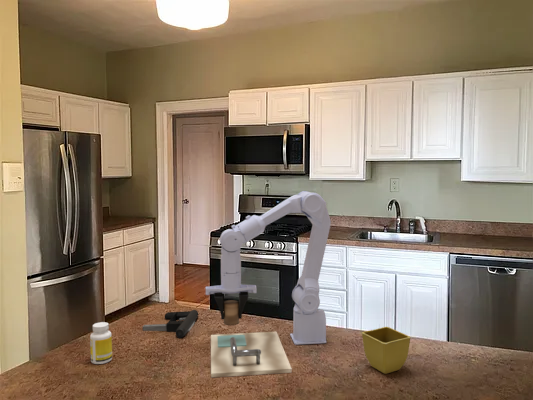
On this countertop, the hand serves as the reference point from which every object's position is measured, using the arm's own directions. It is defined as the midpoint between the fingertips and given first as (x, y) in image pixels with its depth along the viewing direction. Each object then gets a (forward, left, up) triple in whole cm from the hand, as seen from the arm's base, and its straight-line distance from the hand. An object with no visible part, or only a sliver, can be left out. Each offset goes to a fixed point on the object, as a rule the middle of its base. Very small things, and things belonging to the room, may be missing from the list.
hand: (231, 317), depth 131 cm
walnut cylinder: (0, 0, -2) cm, 2 cm away
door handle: (+19, -18, -9) cm, 27 cm away
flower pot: (-38, +21, -8) cm, 44 cm away
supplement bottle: (+35, +6, -8) cm, 36 cm away
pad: (0, 0, -8) cm, 8 cm away
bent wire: (-3, +11, -7) cm, 14 cm away
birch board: (-4, +7, -8) cm, 11 cm away
